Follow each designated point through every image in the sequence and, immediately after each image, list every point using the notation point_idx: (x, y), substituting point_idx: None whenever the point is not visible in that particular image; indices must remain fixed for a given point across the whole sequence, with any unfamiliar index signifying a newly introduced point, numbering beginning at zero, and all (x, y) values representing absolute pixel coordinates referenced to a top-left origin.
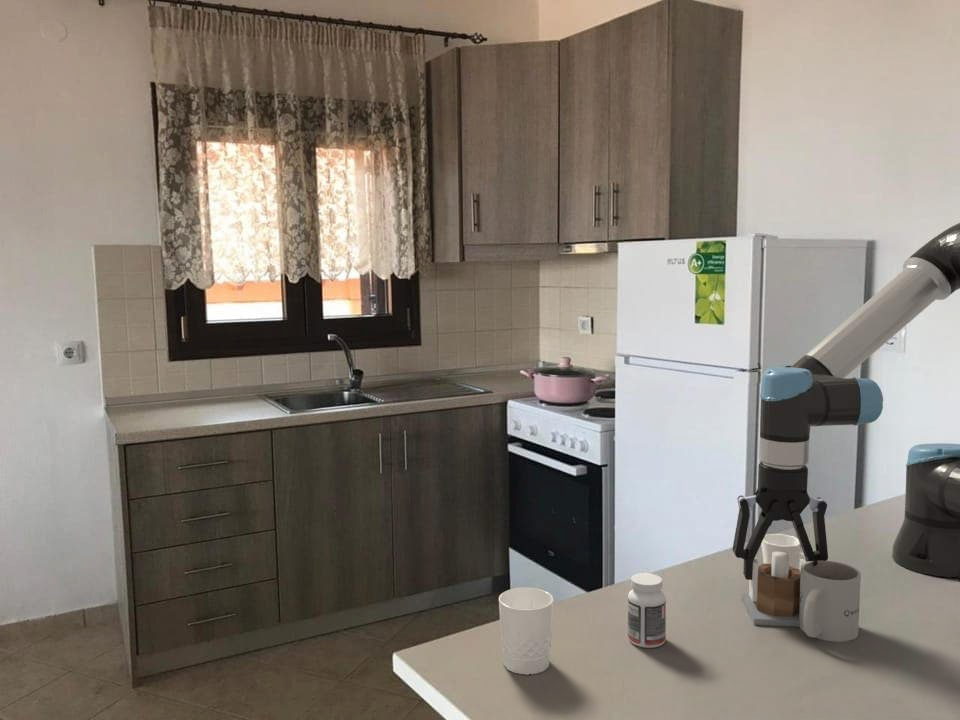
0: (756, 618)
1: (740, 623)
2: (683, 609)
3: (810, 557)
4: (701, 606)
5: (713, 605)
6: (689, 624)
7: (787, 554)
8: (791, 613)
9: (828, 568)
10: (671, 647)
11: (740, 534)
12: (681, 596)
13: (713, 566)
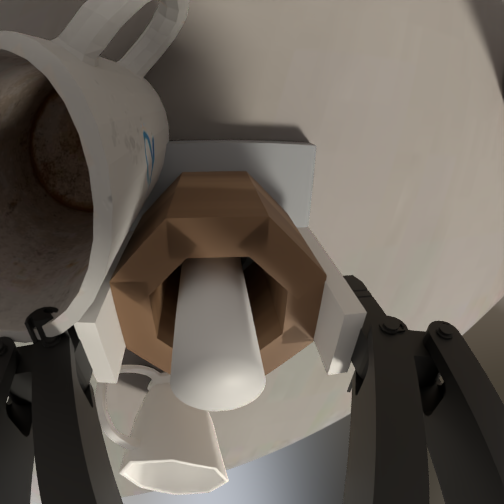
0: (307, 149)
1: (344, 153)
2: (441, 230)
3: (55, 354)
4: (402, 250)
5: (374, 259)
6: (455, 151)
7: (177, 387)
8: (186, 174)
9: (3, 304)
10: (495, 55)
11: (499, 412)
12: (418, 295)
13: (296, 422)
